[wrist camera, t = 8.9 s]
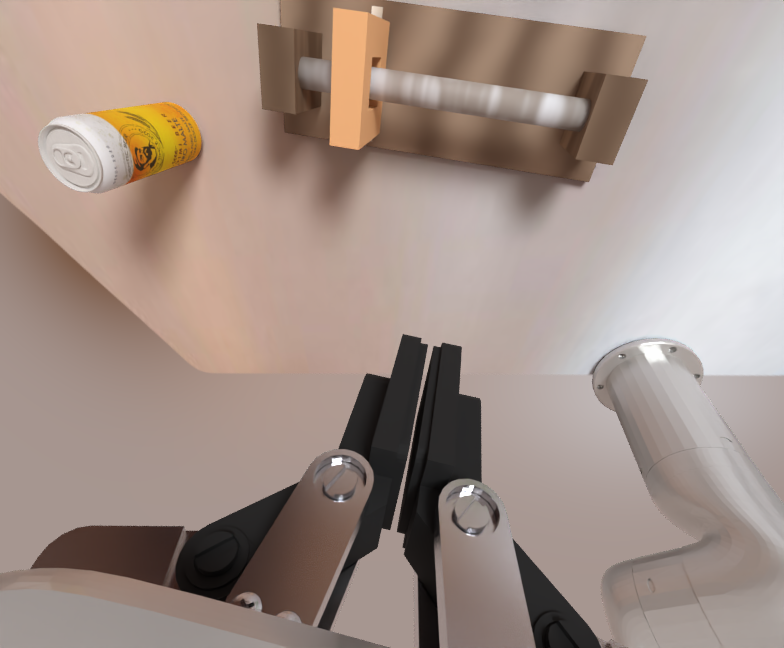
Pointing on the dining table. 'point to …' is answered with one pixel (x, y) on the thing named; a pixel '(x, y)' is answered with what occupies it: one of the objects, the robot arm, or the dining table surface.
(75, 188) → the beer can
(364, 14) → the collar
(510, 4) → the dining table surface
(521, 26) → the pipe stand
